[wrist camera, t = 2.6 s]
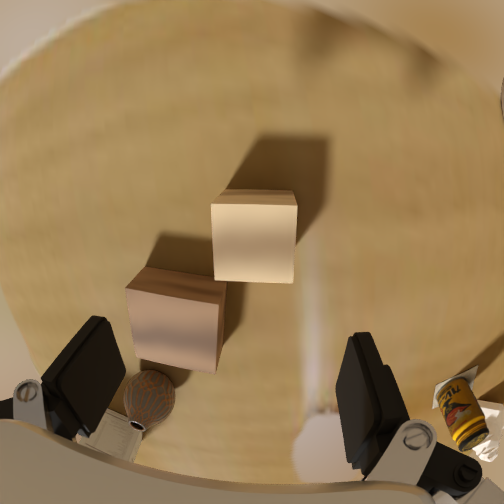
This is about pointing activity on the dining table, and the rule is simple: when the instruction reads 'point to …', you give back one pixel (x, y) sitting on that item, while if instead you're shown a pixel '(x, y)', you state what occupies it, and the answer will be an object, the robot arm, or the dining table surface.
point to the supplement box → (114, 437)
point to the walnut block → (177, 318)
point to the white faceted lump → (491, 430)
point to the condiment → (461, 410)
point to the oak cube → (254, 235)
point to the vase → (148, 399)
